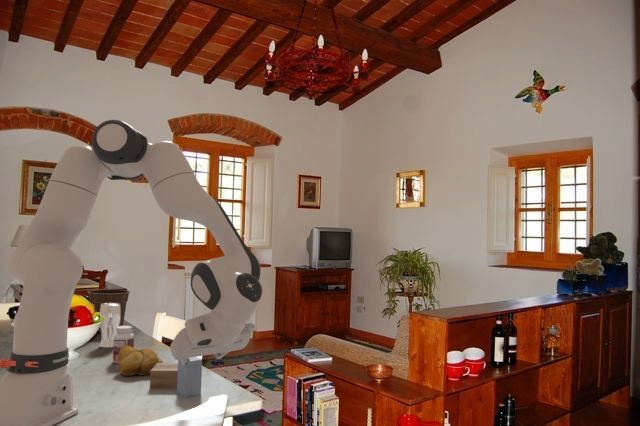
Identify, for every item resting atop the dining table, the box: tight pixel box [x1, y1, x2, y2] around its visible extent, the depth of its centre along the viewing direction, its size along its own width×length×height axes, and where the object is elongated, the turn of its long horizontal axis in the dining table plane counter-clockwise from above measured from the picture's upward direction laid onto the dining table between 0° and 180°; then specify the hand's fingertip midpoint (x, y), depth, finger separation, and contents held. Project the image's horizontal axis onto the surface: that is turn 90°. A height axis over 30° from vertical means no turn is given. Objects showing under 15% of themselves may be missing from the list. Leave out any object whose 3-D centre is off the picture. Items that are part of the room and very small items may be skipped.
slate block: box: [176, 356, 203, 398], centre depth 136 cm, size 4×4×9 cm
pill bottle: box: [112, 325, 135, 365], centre depth 166 cm, size 6×6×11 cm
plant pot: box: [87, 288, 131, 334], centre depth 214 cm, size 16×16×16 cm
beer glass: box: [99, 303, 120, 349], centre depth 187 cm, size 7×7×15 cm
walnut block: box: [149, 362, 178, 390], centre depth 144 cm, size 8×8×5 cm
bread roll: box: [118, 345, 164, 377], centre depth 154 cm, size 13×10×8 cm
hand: (200, 359), depth 132 cm, fingers open, 8 cm apart
